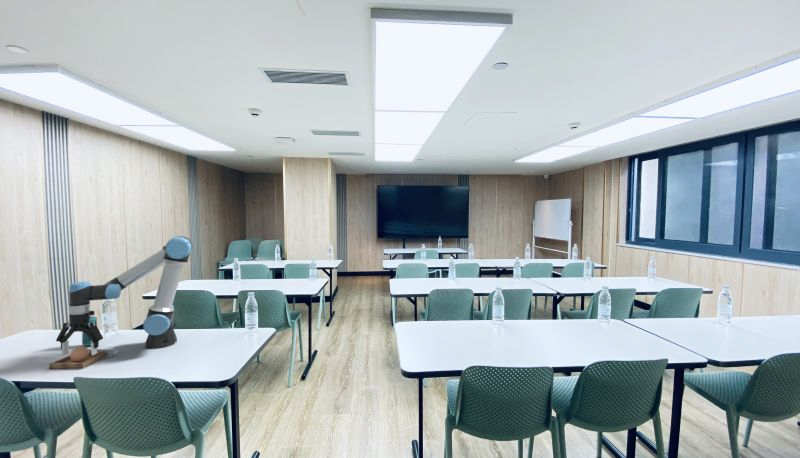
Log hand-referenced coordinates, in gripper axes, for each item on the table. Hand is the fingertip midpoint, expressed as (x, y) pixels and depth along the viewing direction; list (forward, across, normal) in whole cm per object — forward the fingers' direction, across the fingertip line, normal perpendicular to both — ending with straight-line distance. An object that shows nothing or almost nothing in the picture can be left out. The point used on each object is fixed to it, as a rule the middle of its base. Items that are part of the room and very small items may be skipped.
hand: (79, 354), depth 168 cm
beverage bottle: (+4, +14, -24) cm, 28 cm away
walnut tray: (+4, 0, 0) cm, 4 cm away
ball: (+3, 0, 0) cm, 3 cm away
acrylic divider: (+4, 0, -8) cm, 9 cm away
